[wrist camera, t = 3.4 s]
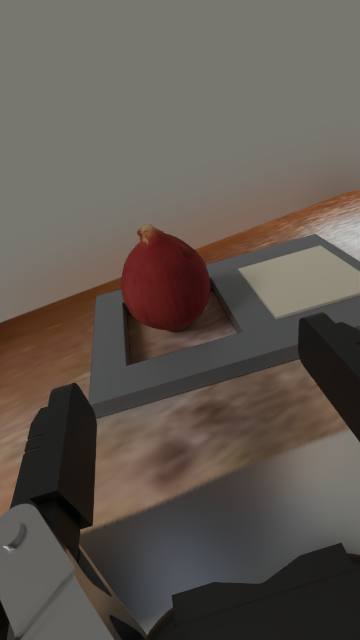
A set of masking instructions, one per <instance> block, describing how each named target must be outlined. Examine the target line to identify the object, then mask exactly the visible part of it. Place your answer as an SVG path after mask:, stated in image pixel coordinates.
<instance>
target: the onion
mask: <svg viewBox="0 0 360 640" xmlns="http://www.w3.org/2000/svg"><path fill="white" fill-rule="evenodd" d="M137 233H138V235H139V236H140V240H141V241H140V242H139V243H138V244H137V246H136V247H135V248H134V249H133V250H132V252H131V253H130V254H129V256H128V258H127V260H126V262H125V264H124V268H123V273H122V279H121V292H122V297H123V300H124V302H125V304H126V306H127V307H128V309H129V311H130V312H131V314H132V316H133V317H135V318H136V319H137V320H138V321H139V322H141V323H143V324H145V325H147V326H149V327H152V328H156V329H161V330H168V331H171V332H178V331H180V330H183V329H184V328H185V327H187V326H189V325H190V324H192V323H193V322H195V321H196V320H197V318H198V317H199V316H200V315H201V314H202V312H203V310H204V309H205V307H206V305H207V302H208V299H209V297H210V281H209V273H208V270H207V267H206V264H205V263H204V261H203V259H202V258H201V256H200V255H199V254H198V253H197V252H196V251H195V250H194V249H193V248H191V247H190V246H189V245H187V244H186V243H185V242H183V241H182V240H180V239H178V238H176V237H174V236H172V235H169V234H165V233H163V232H162V231H160V230H158V229H157V228H155V227H154V226H152V225H144V226H142V227H141V228H140V229H139V230H138V231H137Z"/></svg>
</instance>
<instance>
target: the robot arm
mask: <svg viewBox="0 0 360 640" xmlns="http://www.w3.org/2000/svg"><path fill="white" fill-rule="evenodd" d="M298 354H299V357H300V360H301V362H302V364H303V366H304V367H305V369H306V370H307V371H308V373H309V374H310V375H311V377H312V378H313V379H314V381H315V382H316V383H317V385H318V386H319V388H320V389H321V390H322V392H323V393H324V394H325V396H326V397H327V398H328V400H329V401H330V402H331V404H332V405H333V406H334V408H335V409H336V411H337V412H338V413H339V415H340V416H341V417H342V419H343V420H344V421H345V423H346V424H347V425H348V427H349V428H350V429H351V431H352V432H353V433H354V435H355V436H356V437H357V439H358V440H359V442H360V331H359V330H358V329H356V328H354V327H352V326H350V325H348V324H346V323H344V322H339V323H335V322H334V321H333V320H332V319H331V318H330V317H329V316H328V315H327V314H325V313H324V312H320V313H316V314H313V315H309V316H306V317H302V318H300V320H299V330H298ZM96 436H97V421H96V416H95V413H94V410H93V408H92V407H91V405H90V403H89V402H88V400H87V399H86V397H85V395H84V394H83V392H82V391H81V389H80V387H79V386H78V385H77V384H76V383H72V384H69V385H65V386H62V387H58V388H55V389H53V390H52V391H51V394H50V399H49V404H48V407H44V408H41V409H40V410H39V412H38V414H37V415H36V417H35V418H34V420H33V422H32V423H31V427H30V431H29V435H28V441H27V443H26V447H25V454H24V455H23V459H22V463H21V467H20V471H19V475H18V479H17V483H16V487H15V491H14V495H13V499H12V503H11V506H10V509H9V510H8V511H6V512H5V513H4V514H3V515H2V516H1V517H0V640H7V634H8V628H9V624H11V626H12V629H13V631H14V634H15V640H360V555H356V554H347V553H346V551H345V549H344V547H343V545H342V543H339V544H336V545H333V546H329V547H326V548H323V549H320V550H317V551H313V552H310V553H307V554H304V555H301V556H299V557H297V558H296V559H295V560H293V561H292V562H291V563H290V564H288V565H287V566H286V567H284V568H283V569H282V570H280V571H279V572H278V573H276V574H275V575H273V576H272V577H271V578H270V579H268V580H267V581H265V582H264V583H261V584H245V583H218V582H213V583H210V584H207V585H204V586H201V587H197V588H194V589H191V590H187V591H184V592H181V593H178V594H175V595H172V601H173V608H171V609H170V610H169V611H168V612H166V613H165V614H164V615H163V616H162V617H161V618H160V619H159V620H158V622H157V623H156V624H155V625H154V626H153V628H152V629H151V630H150V632H149V634H148V635H146V633H145V632H144V630H143V629H142V628H141V626H140V625H139V623H138V622H137V621H136V619H135V618H134V617H133V615H132V614H131V613H130V612H129V611H128V609H127V608H126V607H125V606H124V605H123V604H122V603H121V602H120V600H119V599H118V598H117V597H116V595H115V594H114V593H113V592H112V590H111V588H110V587H109V586H108V584H107V583H106V581H105V580H104V579H103V577H102V576H101V574H100V573H99V572H98V570H97V568H96V567H95V566H94V564H93V563H92V561H91V560H90V559H89V557H88V556H87V554H86V553H85V551H84V550H83V549H82V547H81V546H80V545H79V538H80V529H83V528H87V527H90V526H93V508H94V484H95V460H96Z"/></svg>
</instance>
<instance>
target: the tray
mask: <svg viewBox="0 0 360 640" xmlns="http://www.w3.org/2000/svg"><path fill="white" fill-rule="evenodd" d="M206 267H207V270H208V273H209V281H210V290H214V292H215V294H216V296H217V298H218V299H219V301H220V303H221V305H222V306H223V308H224V310H225V312H226V314H227V315H228V317H229V319H230V321H231V323H232V324H233V326H234V328H235V330H236V331H237V333H238V334H234V335H231V336H228V337H224V338H221V339H217V340H214V341H210V342H207V343H204V344H200V345H197V346H193V347H190V348H186V349H183V350H180V351H176V352H173V353H169V354H166V355H162V356H159V357H156V358H152V359H149V360H145V361H142V362H138V363H135V364H132V365H131V361H130V349H129V336H128V324H127V314H129V313H131V312H130V311H129V309H128V307H127V306H126V304H125V302H124V300H123V297H122V292H121V289H120V290H116V291H113V292H109V293H106V294H102V295H99V296H96V306H95V320H94V334H93V348H92V362H91V376H90V390H89V403H90V405H91V407H92V408H93V410H94V413H95V416H96V418H100V417H103V416H106V415H110V414H113V413H117V412H120V411H123V410H127V409H130V408H133V407H137V406H140V405H144V404H147V403H150V402H154V401H157V400H161V399H164V398H167V397H171V396H174V395H177V394H181V393H184V392H188V391H191V390H194V389H198V388H201V387H205V386H208V385H211V384H215V383H218V382H221V381H225V380H228V379H232V378H235V377H238V376H242V375H245V374H249V373H252V372H255V371H259V370H262V369H265V368H269V367H272V366H276V365H279V364H282V363H286V362H289V361H293V360H296V359H299V358H300V357H299V354H298V330H299V320H300V318H302V317H306V316H309V315H313V314H316V313H320V312H324V313H325V314H327V315H328V316H329V317H330V318H331V319H332V320H333V321H334V322H335V323H339V322H344V323H346V324H348V325H350V326H352V327H354V328H356V329H358V330H359V331H360V262H359V261H358V260H356V259H355V258H353V257H351V256H350V255H348V254H347V253H345V252H343V251H342V250H340V249H339V248H337V247H335V246H334V245H332V244H331V243H329V242H327V241H326V240H324V239H322V238H321V237H319V236H318V235H316V234H313V235H310V236H306V237H303V238H299V239H296V240H292V241H289V242H285V243H281V244H278V245H274V246H271V247H267V248H264V249H260V250H257V251H253V252H250V253H246V254H243V255H239V256H236V257H232V258H229V259H225V260H222V261H218V262H215V263H211V264H208V265H206Z"/></svg>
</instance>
